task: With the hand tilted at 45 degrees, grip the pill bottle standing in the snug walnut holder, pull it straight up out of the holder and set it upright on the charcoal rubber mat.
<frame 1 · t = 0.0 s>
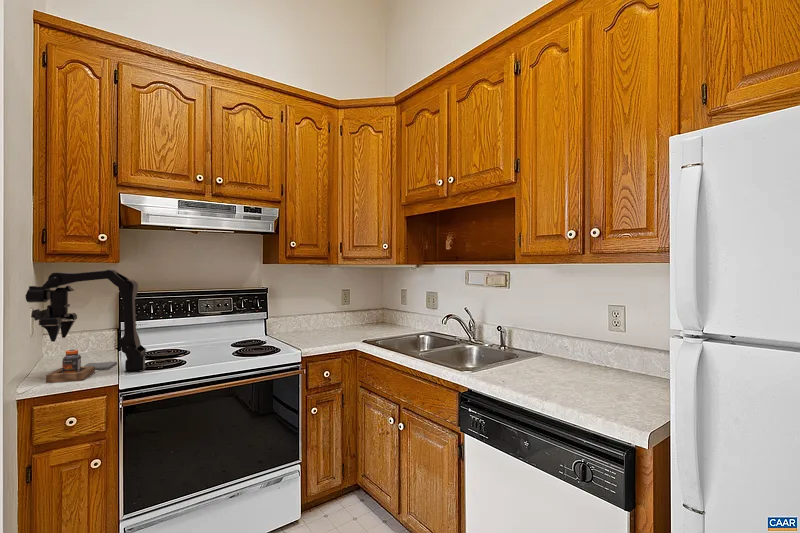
hand: (58, 339, 172), 15 cm above the worktop, tool pointing down, fingers open, 9 cm apart
rubber mat: (98, 367, 184), on the worktop
pill bottle: (71, 378, 167), resting in bottle holder
bottle holder: (71, 377, 167), on the worktop
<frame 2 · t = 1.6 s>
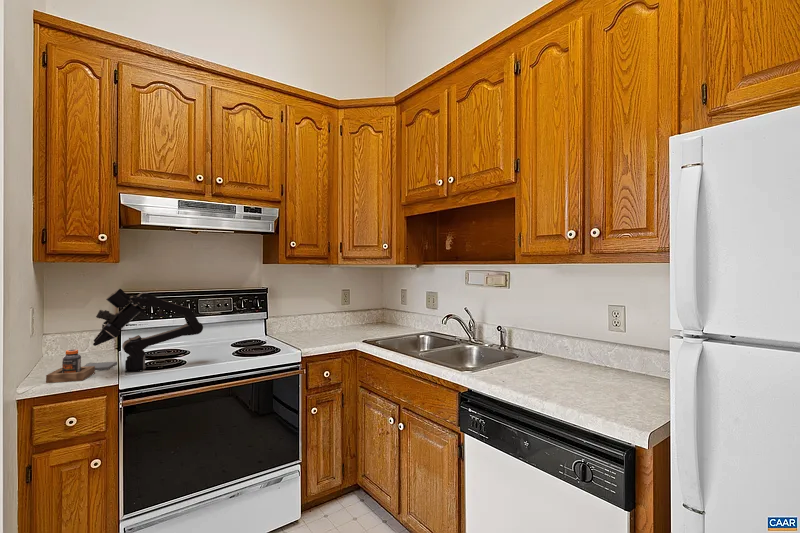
hand: (94, 343, 172), 13 cm above the worktop, tool tilted 45°, fingers open, 9 cm apart
nothing on the worktop moved.
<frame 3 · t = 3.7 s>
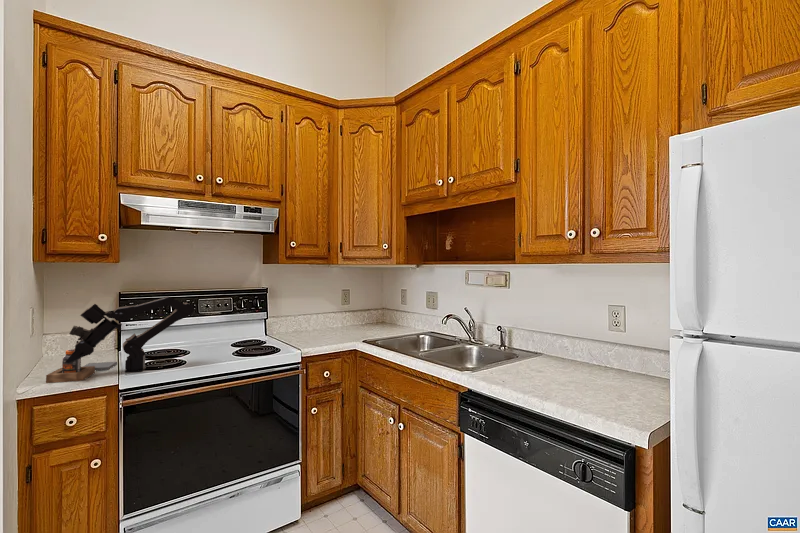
hand: (67, 360, 167), 7 cm above the worktop, tool tilted 45°, fingers closed on pill bottle, 6 cm apart
pill bottle: (71, 378, 167), resting in bottle holder, touching gripper
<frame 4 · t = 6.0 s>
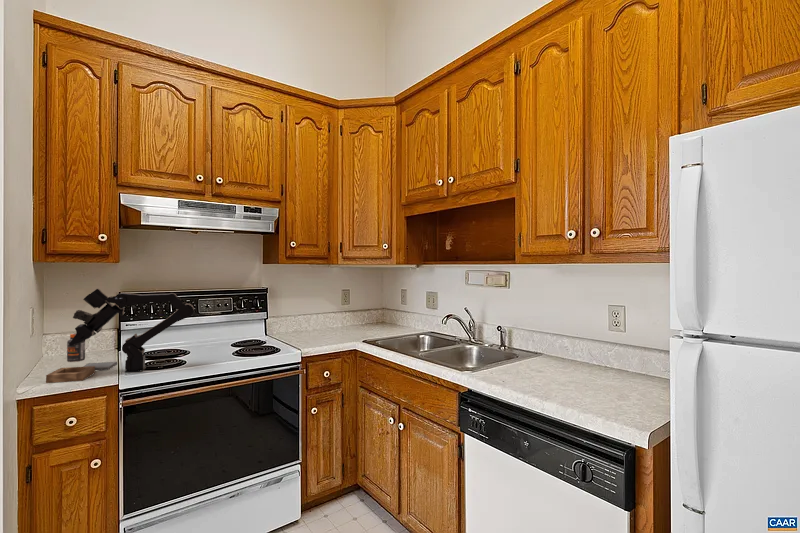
hand: (72, 343, 171), 13 cm above the worktop, tool tilted 45°, fingers closed on pill bottle, 6 cm apart
pill bottle: (76, 361, 171), point 6 cm above the worktop, touching gripper
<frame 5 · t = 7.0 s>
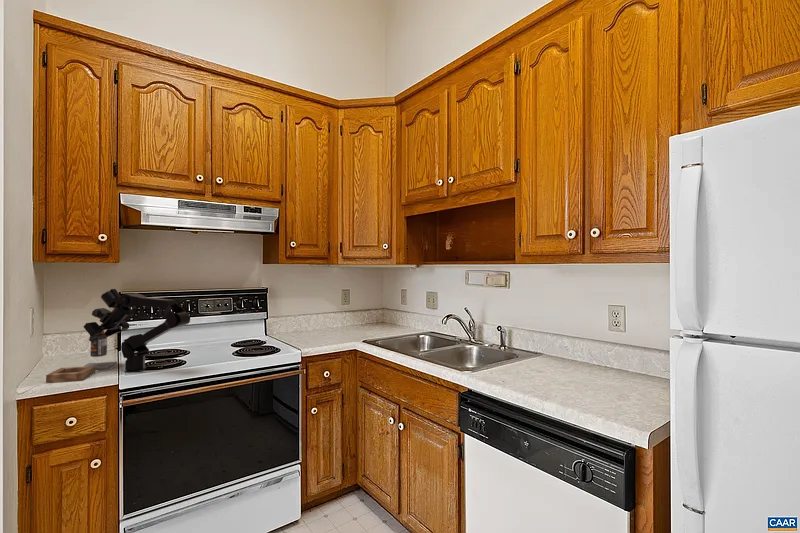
hand: (96, 339, 184), 13 cm above the worktop, tool tilted 45°, fingers closed on pill bottle, 6 cm apart
pill bottle: (98, 356, 184), point 5 cm above the worktop, touching gripper
when the fingers open (9 cm above the worktop, at t = 8.1 s): pill bottle stays where it is, resting on rubber mat.
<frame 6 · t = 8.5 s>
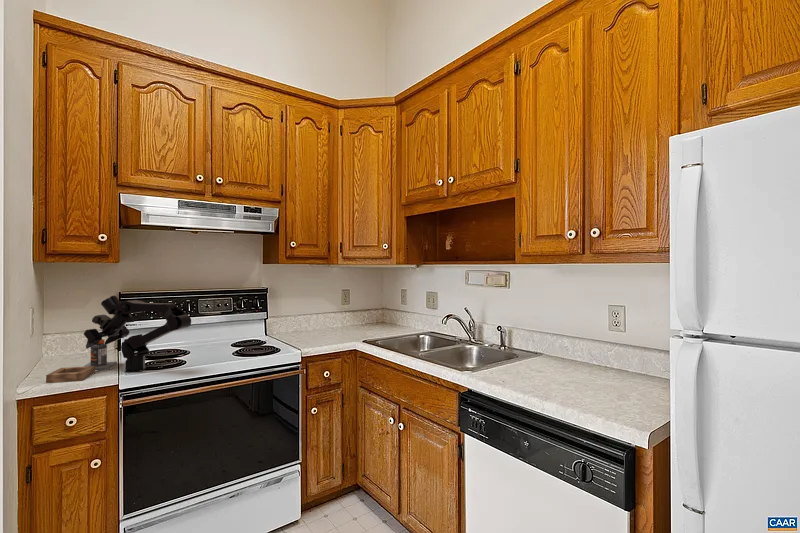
hand: (96, 345, 184), 10 cm above the worktop, tool tilted 45°, fingers open, 9 cm apart
pill bottle: (98, 365, 184), point 1 cm above the worktop, touching rubber mat
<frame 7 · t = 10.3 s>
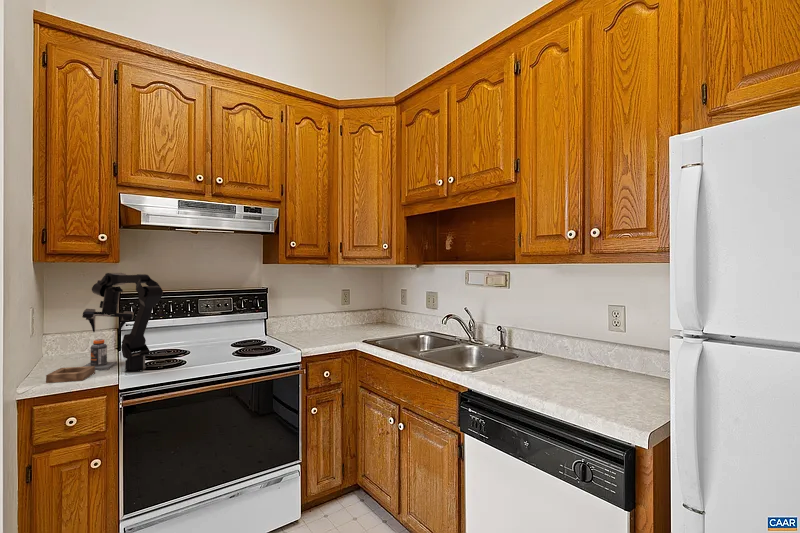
hand: (106, 332, 189), 15 cm above the worktop, tool pointing down, fingers open, 9 cm apart
nothing on the worktop moved.
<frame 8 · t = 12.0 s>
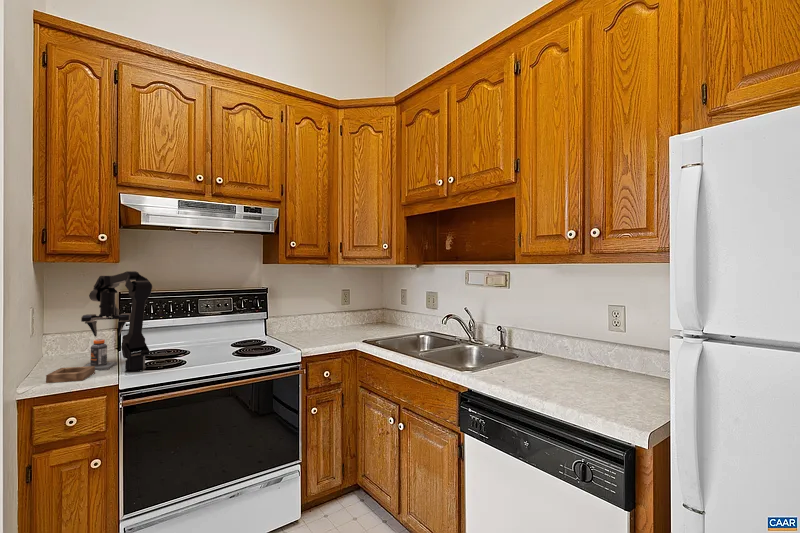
hand: (107, 336, 191), 13 cm above the worktop, tool pointing down, fingers open, 9 cm apart
nothing on the worktop moved.
at the end: pill bottle inside the target area on the rubber mat (0.1 cm from its centre), point 1.0 cm above the rubber mat's base; pill bottle tilted 0°; the gripper is holding nothing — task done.
